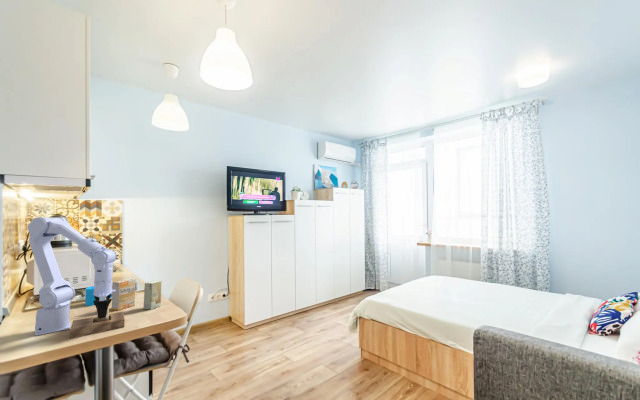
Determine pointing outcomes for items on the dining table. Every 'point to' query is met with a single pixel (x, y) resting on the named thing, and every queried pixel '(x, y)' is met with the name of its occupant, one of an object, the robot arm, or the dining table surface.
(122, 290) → the supplement box
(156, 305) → the skincare box
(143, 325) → the dining table surface
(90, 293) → the mug
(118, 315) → the socket board
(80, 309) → the dining table surface
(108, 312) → the pin
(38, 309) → the robot arm
